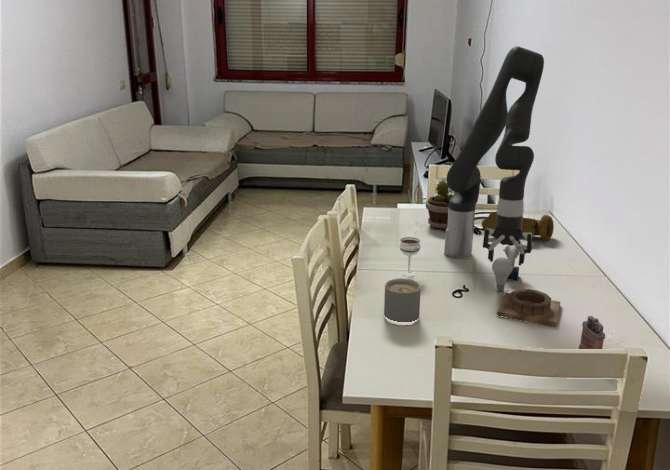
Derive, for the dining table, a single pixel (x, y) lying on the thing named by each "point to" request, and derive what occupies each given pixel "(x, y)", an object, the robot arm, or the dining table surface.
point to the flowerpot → (439, 207)
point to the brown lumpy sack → (592, 334)
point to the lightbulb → (501, 271)
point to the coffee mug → (402, 300)
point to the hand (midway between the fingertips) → (505, 262)
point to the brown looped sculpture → (526, 225)
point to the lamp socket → (529, 307)
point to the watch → (512, 261)
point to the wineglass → (409, 247)
